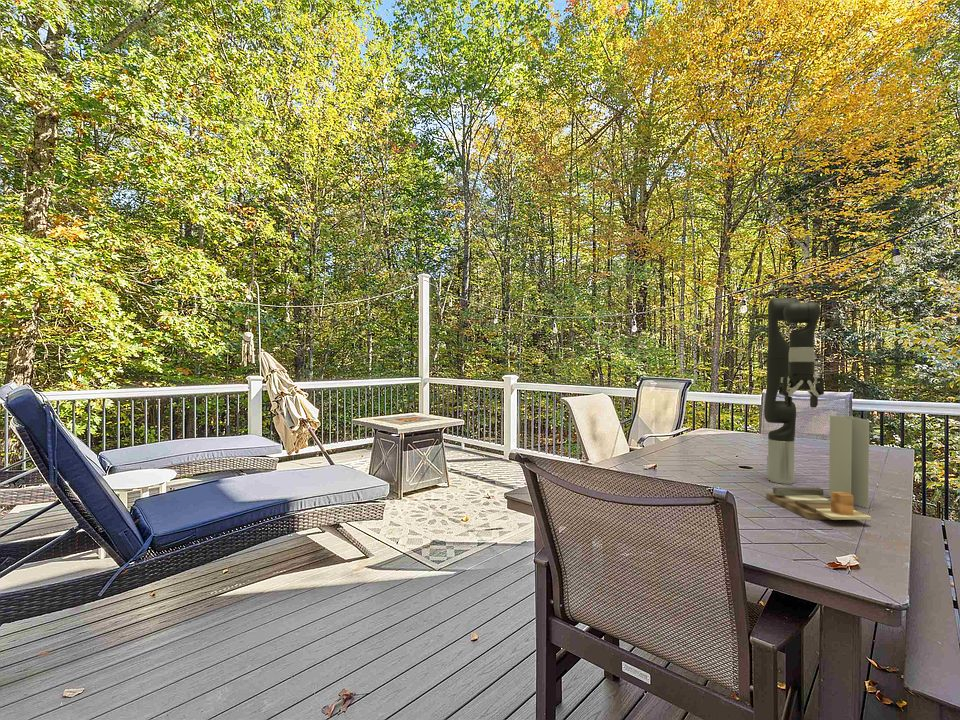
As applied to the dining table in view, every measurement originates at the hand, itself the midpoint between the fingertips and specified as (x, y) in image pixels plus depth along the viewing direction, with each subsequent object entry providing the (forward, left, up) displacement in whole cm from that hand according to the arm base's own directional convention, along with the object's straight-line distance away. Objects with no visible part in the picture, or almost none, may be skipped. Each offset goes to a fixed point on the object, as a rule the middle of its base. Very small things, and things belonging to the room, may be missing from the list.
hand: (801, 407), depth 167 cm
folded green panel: (-4, +20, -34) cm, 40 cm away
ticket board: (+3, +2, -34) cm, 34 cm away
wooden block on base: (+16, +2, -32) cm, 36 cm away
